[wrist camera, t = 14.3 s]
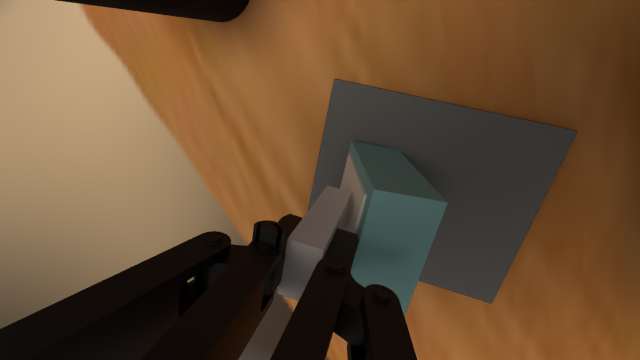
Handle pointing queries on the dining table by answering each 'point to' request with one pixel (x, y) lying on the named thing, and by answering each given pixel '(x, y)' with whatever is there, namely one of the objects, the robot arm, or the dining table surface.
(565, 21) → the dining table surface
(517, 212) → the mat
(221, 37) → the dining table surface
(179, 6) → the cup
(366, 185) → the card box
